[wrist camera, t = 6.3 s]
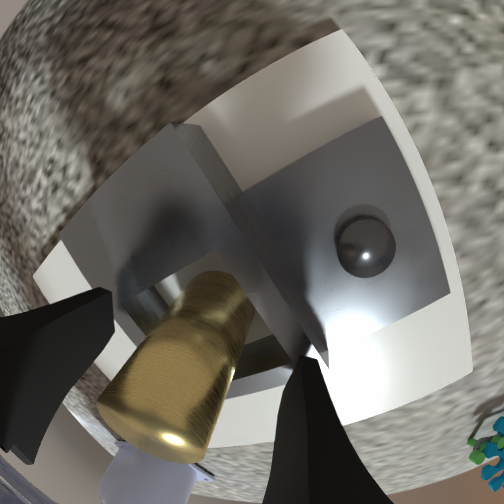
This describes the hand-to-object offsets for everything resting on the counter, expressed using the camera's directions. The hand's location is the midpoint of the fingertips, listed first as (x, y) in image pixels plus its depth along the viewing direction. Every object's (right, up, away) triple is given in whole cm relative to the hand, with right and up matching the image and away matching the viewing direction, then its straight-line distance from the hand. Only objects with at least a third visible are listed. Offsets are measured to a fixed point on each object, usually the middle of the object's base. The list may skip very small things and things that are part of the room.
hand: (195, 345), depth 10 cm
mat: (+1, -1, +4) cm, 5 cm away
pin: (0, +1, +3) cm, 3 cm away
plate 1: (0, +2, +2) cm, 3 cm away
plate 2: (+3, +2, +2) cm, 4 cm away
